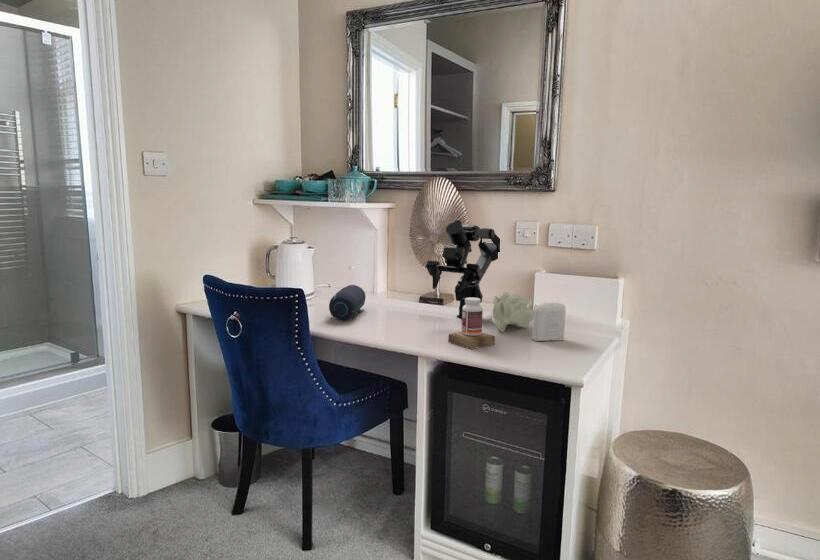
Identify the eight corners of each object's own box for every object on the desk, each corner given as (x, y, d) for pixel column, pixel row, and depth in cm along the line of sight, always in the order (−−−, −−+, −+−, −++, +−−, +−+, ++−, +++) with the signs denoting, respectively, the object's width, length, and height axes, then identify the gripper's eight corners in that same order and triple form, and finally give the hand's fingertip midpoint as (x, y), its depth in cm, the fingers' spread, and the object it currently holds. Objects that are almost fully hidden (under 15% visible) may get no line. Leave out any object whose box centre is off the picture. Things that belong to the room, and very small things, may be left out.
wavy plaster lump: (507, 342, 200) (511, 301, 204) (538, 340, 190) (542, 297, 195) (475, 329, 188) (480, 285, 193) (507, 326, 179) (511, 280, 184)
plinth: (471, 337, 180) (471, 328, 179) (494, 344, 172) (494, 335, 172) (448, 341, 174) (448, 333, 173) (471, 349, 166) (471, 340, 165)
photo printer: (559, 337, 182) (561, 299, 180) (565, 340, 178) (568, 302, 176) (529, 338, 179) (531, 300, 177) (535, 342, 175) (537, 303, 173)
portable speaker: (342, 307, 221) (342, 282, 220) (367, 308, 220) (367, 283, 219) (326, 322, 197) (326, 294, 195) (354, 323, 196) (354, 295, 194)
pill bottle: (485, 333, 173) (486, 298, 172) (476, 337, 168) (477, 301, 167) (467, 330, 177) (468, 296, 175) (457, 334, 172) (459, 298, 170)
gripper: (428, 237, 193) (413, 272, 185) (480, 240, 185) (466, 277, 177) (437, 257, 201) (423, 292, 193) (487, 261, 193) (474, 298, 185)
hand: (446, 289), depth 187 cm, fingers open, 9 cm apart
